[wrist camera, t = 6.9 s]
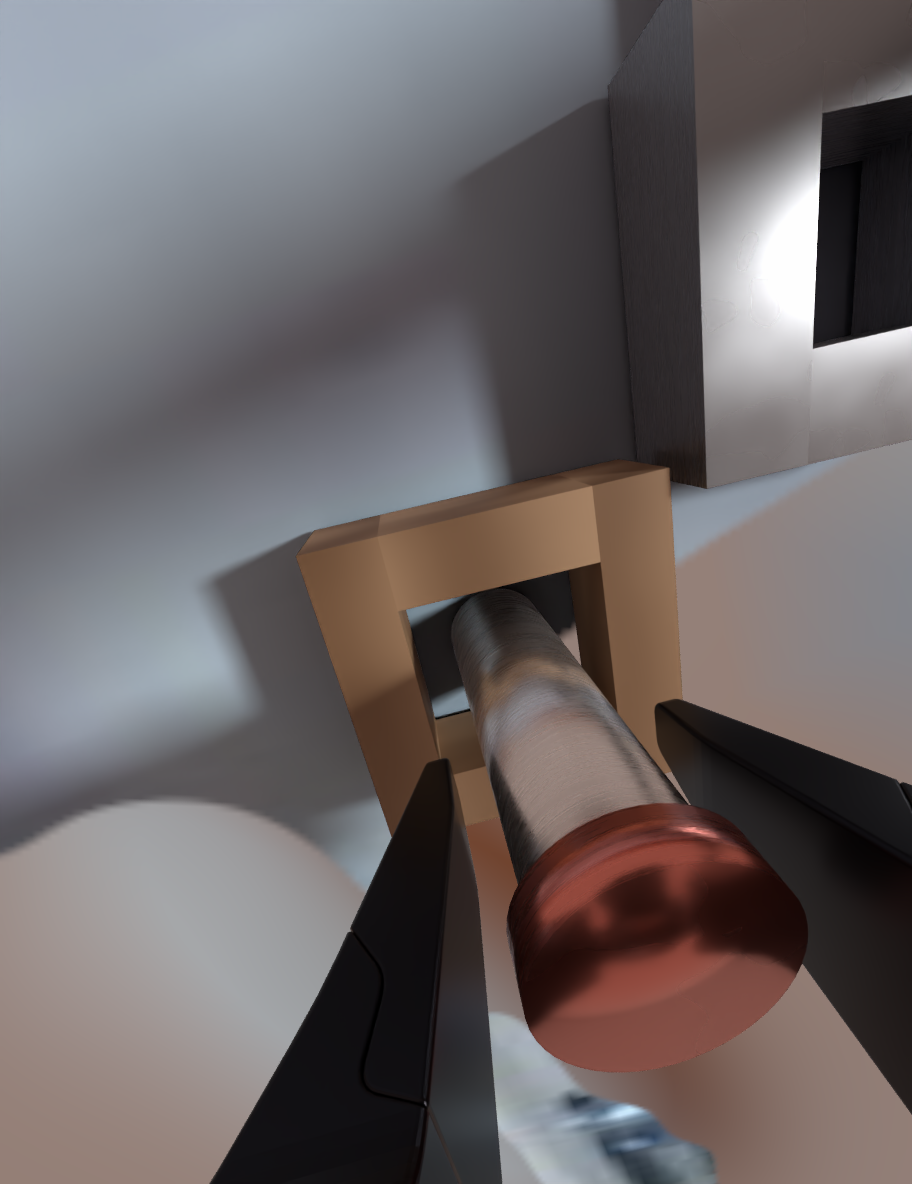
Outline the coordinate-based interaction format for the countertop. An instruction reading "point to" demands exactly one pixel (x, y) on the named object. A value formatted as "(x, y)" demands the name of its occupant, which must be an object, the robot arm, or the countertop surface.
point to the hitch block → (762, 231)
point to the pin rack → (484, 561)
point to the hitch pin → (614, 865)
